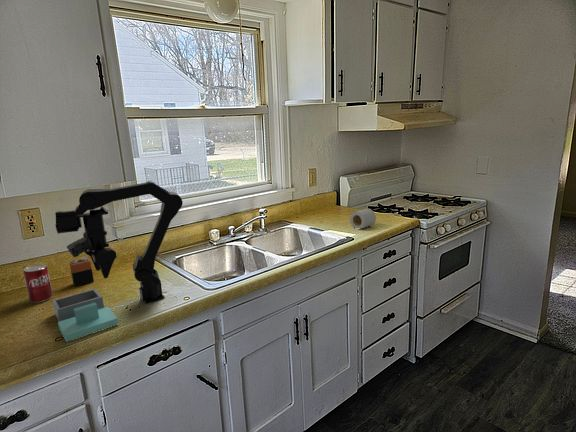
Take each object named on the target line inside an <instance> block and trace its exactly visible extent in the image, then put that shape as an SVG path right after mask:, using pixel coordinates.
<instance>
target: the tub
mask: <svg viewBox="0 0 576 432" xmlns="http://www.w3.org/2000/svg"><path fill="white" fill-rule="evenodd" d="M92 303H96V304H97V308H98V310H99V309H102V308H105V307H104V301H103V296H102V295H101V293H100V292H98V290H97V289H96V288H92V289H89V290H84V291H82V292H78V293H73V294H70V295H67V296H64V297H63V296H62V297H59V298H57V299H52V307H53V311H54V316H55V317H56V320H57V322H60V321H63V320H66V319H69V318H73V317H75V313H74V309H75V308H78V307H81V306H85V305H88V304H92Z"/></svg>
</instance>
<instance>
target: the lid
mask: <svg viewBox="0 0 576 432" xmlns="http://www.w3.org/2000/svg"><path fill="white" fill-rule="evenodd" d="M74 313H75V317H73V318H69V319H66V320H63V321H60V322H59V321H57V324H58V325H57V326H58V329H59V332H60V333H61V336H62V335H63V336H62V337H64V338H63V340H64V339H65V340H64V342H65V341H66V342H67V341H70V340H72V339H76V338H79V337H82V336H85V335H87V334H90V333H93V332H96V331H99V330H102V329H105V328H108V327H111V326H114V325H117V324H119V319H118V317H117V316H116V314H115V313H114V312H113V311H112V310H111V308H110V307H109V306H106V307H104V308H102V309H99V310H98V308H97V304H96V303H92V304H88V305H85V306H81V307H78V308H75V309H74ZM117 326H118V325H117ZM114 327H115V326H114ZM111 328H112V327H111ZM108 329H109V328H108ZM105 330H106V329H105ZM102 331H103V330H102ZM99 332H100V331H99ZM85 337H86V336H85ZM82 338H83V337H82ZM79 339H80V338H79ZM76 340H77V339H76ZM66 342H65V343H66ZM70 342H71V341H70ZM67 343H68V342H67Z"/></svg>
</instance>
